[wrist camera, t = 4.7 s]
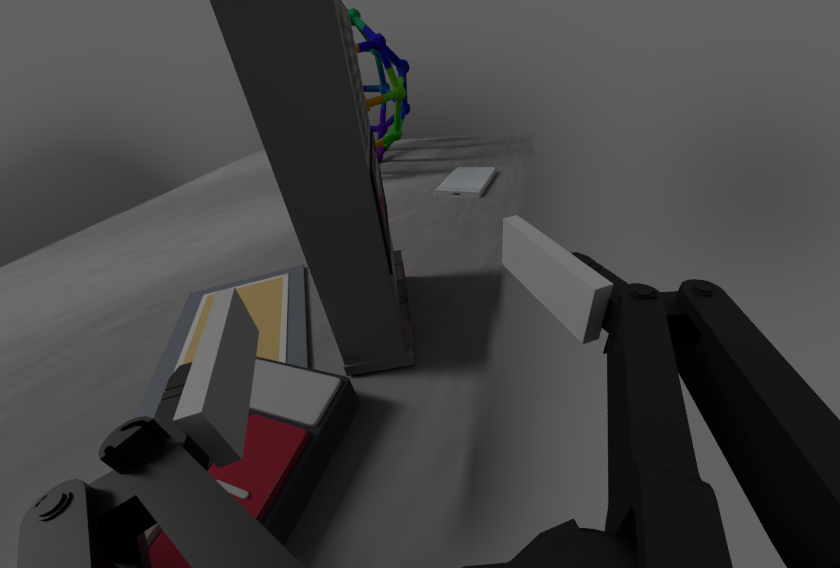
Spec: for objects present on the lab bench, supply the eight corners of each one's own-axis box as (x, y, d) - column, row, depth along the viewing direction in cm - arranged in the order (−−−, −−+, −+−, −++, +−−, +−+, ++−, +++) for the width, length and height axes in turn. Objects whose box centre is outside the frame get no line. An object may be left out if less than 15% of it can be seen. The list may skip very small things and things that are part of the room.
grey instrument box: (418, 366, 29) (348, -20, 14) (347, 378, 29) (205, 0, 14) (405, 276, 40) (358, 9, 26) (354, 285, 40) (278, 20, 26)
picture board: (124, 450, 26) (120, 447, 25) (191, 295, 42) (189, 292, 42) (309, 392, 28) (307, 388, 28) (304, 267, 45) (303, 264, 44)
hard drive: (456, 166, 68) (433, 189, 59) (496, 167, 65) (479, 191, 56) (456, 174, 69) (434, 198, 60) (496, 175, 66) (479, 201, 57)
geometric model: (204, 62, 64) (295, -32, 46) (309, 42, 84) (402, -31, 66) (293, 205, 78) (389, 175, 60) (366, 159, 98) (455, 125, 80)
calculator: (24, 567, 17) (233, 345, 28) (87, 585, 20) (256, 376, 31) (173, 671, 14) (348, 370, 24) (225, 676, 16) (363, 403, 27)
